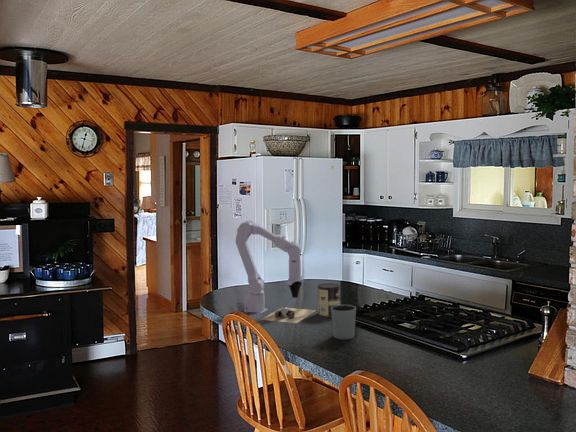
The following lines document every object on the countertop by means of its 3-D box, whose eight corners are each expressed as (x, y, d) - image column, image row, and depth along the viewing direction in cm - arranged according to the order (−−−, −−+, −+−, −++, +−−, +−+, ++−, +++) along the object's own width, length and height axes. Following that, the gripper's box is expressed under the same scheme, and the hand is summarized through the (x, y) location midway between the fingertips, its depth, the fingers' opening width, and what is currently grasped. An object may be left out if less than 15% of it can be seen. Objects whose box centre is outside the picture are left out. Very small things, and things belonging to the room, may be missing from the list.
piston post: (280, 318, 262) (279, 308, 262) (282, 316, 265) (282, 306, 265) (286, 318, 261) (286, 308, 260) (289, 316, 264) (289, 307, 263)
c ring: (280, 314, 269) (280, 309, 269) (297, 315, 266) (297, 310, 265) (274, 317, 263) (274, 312, 263) (292, 319, 260) (292, 314, 259)
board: (260, 320, 260) (260, 319, 260) (282, 308, 282) (281, 307, 282) (296, 324, 253) (296, 323, 253) (316, 311, 275) (316, 310, 275)
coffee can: (341, 312, 272) (340, 283, 271) (338, 318, 262) (338, 287, 261) (319, 311, 274) (319, 282, 273) (316, 317, 264) (316, 287, 263)
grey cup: (358, 333, 237) (358, 305, 236) (353, 341, 227) (353, 311, 226) (334, 332, 240) (334, 303, 239) (328, 339, 231) (328, 309, 230)
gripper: (296, 272, 265) (296, 301, 266) (308, 267, 278) (308, 294, 279) (282, 271, 268) (283, 300, 269) (294, 266, 281) (295, 293, 282)
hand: (295, 297), depth 274 cm, fingers closed
